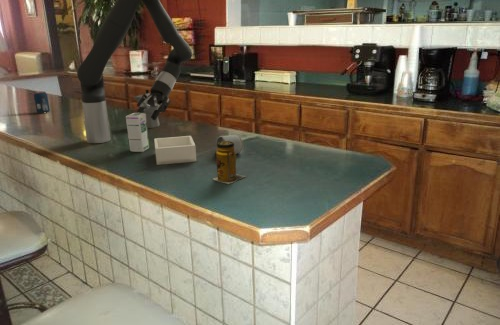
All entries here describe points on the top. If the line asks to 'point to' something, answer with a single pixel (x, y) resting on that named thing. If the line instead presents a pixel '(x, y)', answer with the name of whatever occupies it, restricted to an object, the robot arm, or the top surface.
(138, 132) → the syrup box
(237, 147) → the ceramic mug
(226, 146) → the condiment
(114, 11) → the robot arm
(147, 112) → the coffeepot
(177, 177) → the top surface
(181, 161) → the bin
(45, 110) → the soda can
